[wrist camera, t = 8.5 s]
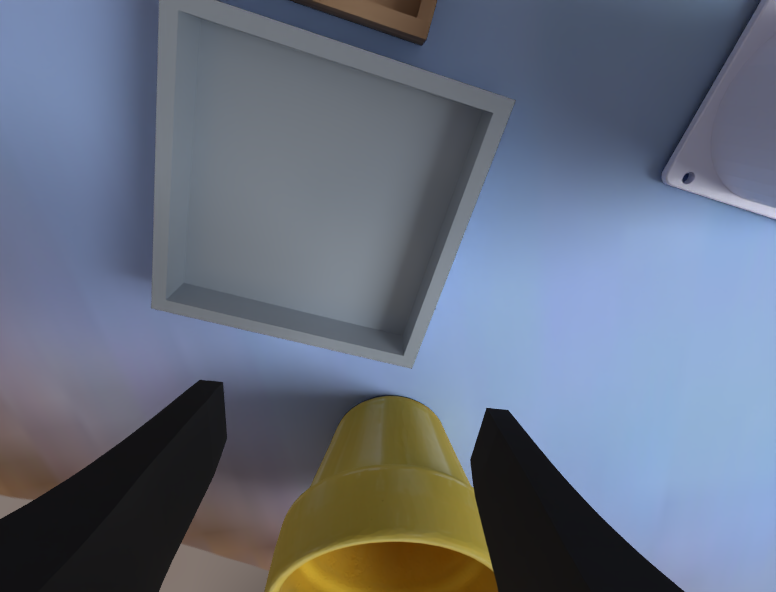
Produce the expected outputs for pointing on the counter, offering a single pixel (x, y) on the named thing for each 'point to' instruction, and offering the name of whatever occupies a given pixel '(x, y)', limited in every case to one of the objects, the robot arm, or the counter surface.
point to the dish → (309, 181)
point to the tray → (383, 15)
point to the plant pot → (385, 511)
